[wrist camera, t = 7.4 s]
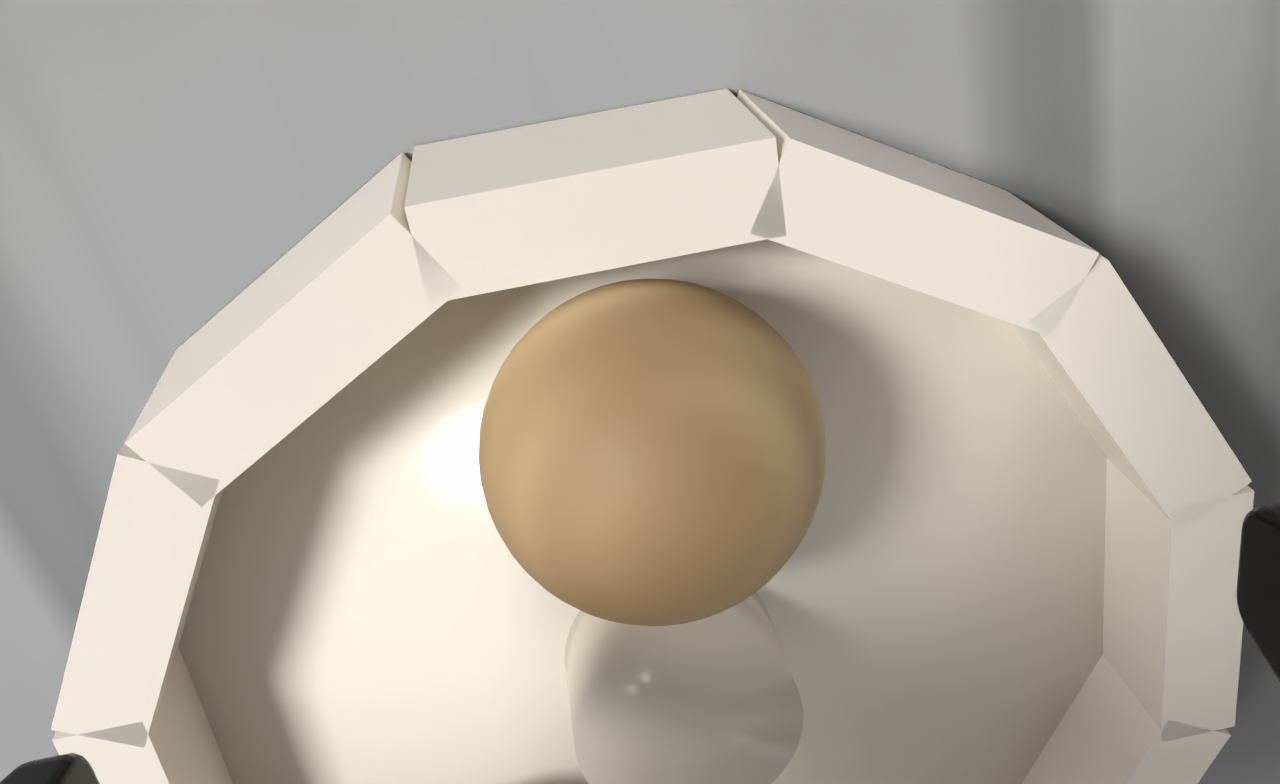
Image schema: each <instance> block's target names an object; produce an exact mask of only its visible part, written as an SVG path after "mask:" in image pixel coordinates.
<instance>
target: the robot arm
mask: <svg viewBox="0 0 1280 784" xmlns="http://www.w3.org/2000/svg"><path fill="white" fill-rule="evenodd" d="M1236 593H1237V604H1238V609H1239V613H1240V616H1241V618H1242V620H1243V623H1244V625H1245V627H1246V628H1247V630H1248V632H1249V633H1250V635H1251V636H1252V638H1253V640H1254V641H1255V643H1256V644H1257V646H1258V648H1259V649H1260V651H1261V652H1262V654H1263V656H1264V657H1265V659H1266V660H1267V662H1268V664H1269V665H1270V667H1271V668H1272V670H1273V672H1274V673H1275V675H1276V676H1277V678H1278V679H1279V681H1280V502H1278V503H1273V504H1269V505H1264V506H1259V507H1255V508H1253V509H1252V510H1251V511H1249V512H1248V513H1247V514H1246V516H1245V518H1244V520H1243V524H1242V530H1241V542H1240V554H1239V567H1238V579H1237V591H1236ZM0 784H100V783H99V781H98V779H97V777H96V775H95V773H94V770H93V768H92V767H91V765H90V764H89V762H88V761H87V760H86V759H85V758H84V757H83V756H81V755H79V754H75V753H68V754H63V755H58V756H54V757H49V758H44V759H39V760H34V761H30V762H27V763H24V764H22V765H20V766H19V767H17V768H16V769H15V770H14V771H12V772H11V773H10V774H9V775H8V776H7V777H6V778H5V779H3V780H2V781H1V782H0Z"/></svg>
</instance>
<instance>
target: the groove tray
mask: <svg viewBox="0 0 1280 784" xmlns="http://www.w3.org/2000/svg"><path fill="white" fill-rule="evenodd" d="M635 279H672V280H678V281H684V282H690V283H694V284H698V285H701V286H704V287H708V288H711V289H713V290H716V291H718V292H720V293H722V294H724V295H727V296H729V297H731V298H733V299H735V300H737V301H739V302H740V303H742V304H743V305H745V306H747V307H748V308H750V309H751V310H753V311H754V312H756V313H757V314H758V315H759V316H761V317H762V318H763V319H764V320H765V321H766V322H767V323H769V324H770V325H771V326H772V327H773V328H774V329H775V330H776V331H777V332H778V333H779V334H780V335H781V336H782V338H783V339H784V340H785V341H786V342H787V343H788V345H789V346H790V347H791V348H792V349H793V351H794V353H795V354H796V356H797V357H798V359H799V361H800V362H801V364H802V365H803V367H804V369H805V371H806V373H807V374H808V376H809V379H810V381H811V383H812V386H813V388H814V390H815V392H816V396H817V399H818V403H819V407H820V411H821V415H822V419H823V423H824V430H825V439H826V457H825V475H824V481H823V487H822V492H821V495H820V498H819V502H818V505H817V508H816V511H815V514H814V517H813V520H812V522H811V524H810V526H809V528H808V530H807V533H806V535H805V536H804V538H803V540H802V541H801V543H800V544H799V546H798V548H797V549H796V551H795V552H794V554H793V555H792V556H791V557H790V558H789V560H788V561H787V562H786V563H785V565H784V566H783V567H782V568H781V570H780V571H779V572H778V573H777V574H776V575H775V576H774V577H773V578H772V579H771V580H770V581H769V582H768V583H767V584H765V585H764V586H763V587H762V588H760V589H759V590H758V591H756V592H755V593H754V594H753V595H751V596H750V597H748V598H746V599H745V600H743V601H742V602H740V603H738V604H737V605H735V606H733V607H731V608H729V609H727V610H725V611H723V612H721V613H718V614H715V615H712V616H710V617H707V618H704V619H701V620H697V621H693V622H689V623H684V624H676V625H669V626H641V625H630V624H622V623H617V622H612V621H608V620H604V619H601V618H598V617H595V616H592V615H589V614H587V613H585V612H583V611H581V610H579V609H577V608H575V607H573V606H571V605H569V604H567V603H565V602H563V601H561V600H560V599H558V598H557V597H555V596H554V595H552V594H551V593H549V592H548V591H547V590H545V589H544V588H543V587H542V586H541V585H540V584H539V583H538V582H536V581H535V580H534V579H533V578H532V577H531V576H530V575H529V574H528V573H527V572H526V571H525V570H524V569H523V568H522V567H521V565H520V564H519V563H518V562H517V561H516V559H515V558H514V557H513V556H512V554H511V553H510V551H509V549H508V548H507V546H506V545H505V543H504V541H503V540H502V538H501V536H500V535H499V533H498V531H497V530H496V527H495V525H494V523H493V520H492V518H491V516H490V513H489V511H488V507H487V503H486V499H485V495H484V492H483V488H482V484H481V479H480V469H479V436H480V426H481V421H482V416H483V411H484V407H485V404H486V401H487V399H488V396H489V393H490V390H491V387H492V384H493V381H494V379H495V377H496V375H497V374H498V372H499V370H500V368H501V366H502V364H503V362H504V361H505V359H506V358H507V356H508V355H509V353H510V352H511V350H512V349H513V348H514V346H515V345H516V344H517V343H518V342H519V340H520V339H521V338H522V337H523V336H524V335H525V334H526V333H527V332H528V330H529V329H530V328H531V327H532V326H534V325H535V324H536V323H537V322H538V321H539V320H540V319H542V318H543V317H544V316H545V315H546V314H547V313H549V312H550V311H552V310H553V309H555V308H556V307H558V306H559V305H561V304H562V303H564V302H565V301H567V300H569V299H571V298H573V297H575V296H577V295H579V294H581V293H583V292H586V291H588V290H591V289H594V288H597V287H600V286H603V285H606V284H611V283H615V282H620V281H624V280H635ZM1251 482H1252V480H1251V479H1250V477H1249V476H1248V474H1247V473H1246V471H1245V470H1244V468H1243V466H1242V465H1241V463H1240V462H1239V460H1238V459H1237V457H1236V456H1235V454H1234V453H1233V451H1232V450H1231V448H1230V446H1229V445H1228V443H1227V442H1226V440H1225V439H1224V437H1223V436H1222V434H1221V433H1220V431H1219V430H1218V428H1217V426H1216V425H1215V423H1214V422H1213V420H1212V419H1211V417H1210V416H1209V414H1208V413H1207V411H1206V409H1205V408H1204V406H1203V405H1202V403H1201V402H1200V400H1199V399H1198V397H1197V396H1196V394H1195V393H1194V391H1193V389H1192V388H1191V386H1190V385H1189V383H1188V382H1187V380H1186V379H1185V377H1184V376H1183V374H1182V373H1181V371H1180V369H1179V368H1178V366H1177V365H1176V363H1175V362H1174V360H1173V359H1172V357H1171V356H1170V354H1169V352H1168V351H1167V349H1166V348H1165V346H1164V345H1163V343H1162V342H1161V340H1160V339H1159V337H1158V336H1157V334H1156V332H1155V331H1154V329H1153V328H1152V326H1151V325H1150V323H1149V322H1148V320H1147V319H1146V317H1145V316H1144V314H1143V312H1142V311H1141V309H1140V308H1139V306H1138V305H1137V303H1136V302H1135V300H1134V299H1133V297H1132V295H1131V294H1130V292H1129V291H1128V289H1127V288H1126V286H1125V285H1124V283H1123V282H1122V280H1121V279H1120V277H1119V275H1118V274H1117V272H1116V271H1115V269H1114V268H1113V266H1112V265H1111V263H1110V262H1109V260H1107V259H1106V258H1104V257H1103V256H1101V255H1100V254H1099V252H1097V251H1096V250H1094V249H1093V248H1091V247H1090V246H1088V245H1087V244H1085V243H1084V242H1082V241H1081V240H1079V239H1078V238H1076V237H1075V236H1073V235H1072V234H1070V233H1069V232H1067V231H1066V230H1064V229H1063V228H1061V227H1060V226H1058V225H1057V224H1055V223H1054V222H1052V221H1051V220H1049V219H1048V218H1047V217H1045V216H1044V215H1042V214H1041V213H1039V212H1038V211H1036V210H1035V209H1033V208H1032V207H1030V206H1029V205H1027V204H1026V203H1024V202H1023V201H1021V200H1020V199H1018V198H1017V197H1015V196H1014V195H1012V194H1011V193H1009V192H1008V191H1006V190H1004V189H1001V188H998V187H996V186H993V185H990V184H988V183H985V182H982V181H980V180H977V179H975V178H972V177H969V176H967V175H964V174H961V173H959V172H956V171H953V170H951V169H948V168H945V167H943V166H940V165H938V164H935V163H932V162H930V161H927V160H924V159H922V158H919V157H916V156H914V155H911V154H909V153H906V152H903V151H901V150H898V149H895V148H893V147H890V146H887V145H885V144H882V143H879V142H877V141H874V140H872V139H869V138H866V137H864V136H861V135H858V134H856V133H853V132H850V131H848V130H845V129H842V128H840V127H837V126H835V125H832V124H829V123H827V122H824V121H821V120H819V119H816V118H813V117H811V116H808V115H805V114H803V113H800V112H798V111H795V110H792V109H790V108H787V107H784V106H782V105H779V104H776V103H774V102H771V101H768V100H766V99H763V98H761V97H758V96H755V95H753V94H750V93H747V92H745V91H742V90H739V92H738V95H737V97H735V96H734V95H733V94H732V93H731V92H730V91H729V90H728V89H722V90H716V91H711V92H705V93H700V94H695V95H689V96H684V97H678V98H673V99H668V100H662V101H657V102H651V103H646V104H641V105H635V106H630V107H624V108H619V109H614V110H608V111H603V112H597V113H592V114H587V115H581V116H576V117H570V118H565V119H559V120H554V121H549V122H543V123H538V124H532V125H527V126H522V127H516V128H511V129H505V130H500V131H495V132H489V133H484V134H478V135H473V136H468V137H462V138H457V139H451V140H446V141H441V142H435V143H430V144H424V145H419V146H414V150H413V156H412V162H411V161H410V160H409V159H408V157H407V156H406V155H405V154H404V153H403V152H402V153H401V154H400V155H398V156H397V157H396V158H395V159H394V160H393V161H392V162H390V163H389V164H388V165H387V166H386V167H385V168H384V169H382V170H381V171H380V172H379V173H378V174H377V175H376V176H374V177H373V178H372V179H371V180H370V181H369V182H368V183H366V184H365V185H364V186H363V187H362V188H361V189H360V190H358V191H357V192H356V193H355V194H354V195H353V196H352V197H350V198H349V199H348V200H347V201H346V202H345V203H344V204H342V205H341V206H340V207H339V208H338V209H337V210H336V211H334V212H333V213H332V214H331V215H330V216H329V217H328V218H326V219H325V220H324V221H323V222H322V223H321V224H320V225H318V226H317V227H316V228H315V229H314V230H313V231H312V232H310V233H309V234H308V235H307V236H306V237H305V238H304V239H302V240H301V241H300V242H299V243H298V244H297V245H296V246H294V247H293V248H292V249H291V250H290V251H289V252H288V253H286V254H285V255H284V256H283V257H282V258H281V259H280V260H278V261H277V262H276V263H275V264H274V265H273V266H272V267H270V268H269V269H268V270H267V271H266V272H265V273H264V274H262V275H261V276H260V277H259V278H258V279H257V280H256V281H254V282H253V283H252V284H251V285H250V286H249V287H248V288H246V289H245V290H244V291H243V292H242V293H241V294H240V295H238V296H237V297H236V298H235V299H234V300H233V301H232V302H230V303H229V304H228V305H227V306H226V307H225V308H224V309H222V310H221V311H220V312H219V313H218V314H217V315H216V316H214V317H213V318H212V319H211V320H210V321H209V322H208V323H206V324H205V325H204V326H203V327H202V328H201V329H200V330H198V331H197V332H196V333H195V334H194V335H193V336H192V337H190V338H189V339H188V340H187V341H186V342H185V343H184V344H182V345H181V346H180V347H179V348H178V349H177V350H176V351H175V353H174V355H173V357H172V359H170V361H169V363H168V365H167V366H166V368H165V370H164V372H163V374H162V375H161V377H160V379H159V381H158V383H157V384H156V386H155V388H154V390H153V392H152V393H151V395H150V397H149V399H148V401H147V402H146V404H145V406H144V408H143V410H142V411H141V413H140V415H139V417H138V419H137V420H136V422H135V424H134V426H133V428H132V429H131V431H130V433H129V435H128V437H127V438H126V440H125V442H124V444H123V446H122V447H121V449H120V451H119V453H118V455H117V459H116V463H115V467H114V471H113V476H112V480H111V484H110V488H109V492H108V496H107V500H106V505H105V509H104V513H103V517H102V521H101V525H100V529H99V533H98V538H97V542H96V546H95V550H94V554H93V558H92V562H91V567H90V571H89V575H88V579H87V583H86V587H85V591H84V595H83V600H82V604H81V608H80V612H79V616H78V620H77V624H76V629H75V633H74V637H73V641H72V645H71V649H70V653H69V658H68V662H67V666H66V670H65V674H64V678H63V682H62V686H61V691H60V695H59V699H58V703H57V707H56V711H55V715H54V720H53V724H52V728H51V730H55V731H56V733H55V735H54V737H53V740H52V741H53V743H54V745H55V747H56V749H57V751H58V753H59V755H63V754H68V753H75V754H79V755H81V756H83V757H84V758H85V759H86V760H87V761H88V762H89V764H90V765H91V767H92V768H93V770H94V773H95V775H96V777H97V779H98V781H99V783H100V784H1198V782H1199V781H1200V779H1201V778H1202V776H1203V775H1204V774H1205V772H1206V771H1207V769H1208V768H1209V766H1210V765H1211V763H1212V762H1213V761H1214V759H1215V758H1216V756H1217V755H1218V753H1219V752H1220V751H1221V749H1222V748H1223V746H1224V745H1225V743H1226V742H1227V741H1228V739H1229V738H1230V736H1231V734H1230V733H1229V732H1228V731H1227V730H1226V728H1229V727H1234V726H1235V717H1236V705H1237V693H1238V681H1239V669H1240V657H1241V645H1242V633H1243V620H1242V618H1241V616H1240V613H1239V609H1238V604H1237V593H1236V591H1237V579H1238V567H1239V554H1240V542H1241V530H1242V524H1243V520H1244V518H1245V516H1246V514H1247V513H1248V512H1249V511H1251V510H1252V509H1253V502H1254V490H1253V489H1251V488H1250V487H1249V486H1248V484H1249V483H1251Z"/></svg>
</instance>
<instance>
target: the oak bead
mask: <svg viewBox="0 0 1280 784" xmlns="http://www.w3.org/2000/svg"><path fill="white" fill-rule="evenodd" d="M825 457H826V439H825V430H824V423H823V419H822V415H821V411H820V407H819V403H818V399H817V396H816V392H815V390H814V388H813V386H812V383H811V381H810V379H809V376H808V374H807V373H806V371H805V369H804V367H803V365H802V364H801V362H800V361H799V359H798V357H797V356H796V354H795V353H794V351H793V349H792V348H791V347H790V346H789V345H788V343H787V342H786V341H785V340H784V339H783V338H782V336H781V335H780V334H779V333H778V332H777V331H776V330H775V329H774V328H773V327H772V326H771V325H770V324H769V323H767V322H766V321H765V320H764V319H763V318H762V317H761V316H759V315H758V314H757V313H756V312H754V311H753V310H751V309H750V308H748V307H747V306H745V305H743V304H742V303H740V302H739V301H737V300H735V299H733V298H731V297H729V296H727V295H724V294H722V293H720V292H718V291H716V290H713V289H711V288H708V287H704V286H701V285H698V284H694V283H690V282H684V281H678V280H672V279H635V280H624V281H620V282H615V283H611V284H606V285H603V286H600V287H597V288H594V289H591V290H588V291H586V292H583V293H581V294H579V295H577V296H575V297H573V298H571V299H569V300H567V301H565V302H564V303H562V304H561V305H559V306H558V307H556V308H555V309H553V310H552V311H550V312H549V313H547V314H546V315H545V316H544V317H543V318H542V319H540V320H539V321H538V322H537V323H536V324H535V325H534V326H532V327H531V328H530V329H529V330H528V332H527V333H526V334H525V335H524V336H523V337H522V338H521V339H520V340H519V342H518V343H517V344H516V345H515V346H514V348H513V349H512V350H511V352H510V353H509V355H508V356H507V358H506V359H505V361H504V362H503V364H502V366H501V368H500V370H499V372H498V374H497V375H496V377H495V379H494V381H493V384H492V387H491V390H490V393H489V396H488V399H487V401H486V404H485V407H484V411H483V416H482V421H481V426H480V436H479V469H480V479H481V484H482V488H483V492H484V495H485V499H486V503H487V507H488V511H489V513H490V516H491V518H492V520H493V523H494V525H495V527H496V530H497V531H498V533H499V535H500V536H501V538H502V540H503V541H504V543H505V545H506V546H507V548H508V549H509V551H510V553H511V554H512V556H513V557H514V558H515V559H516V561H517V562H518V563H519V564H520V565H521V567H522V568H523V569H524V570H525V571H526V572H527V573H528V574H529V575H530V576H531V577H532V578H533V579H534V580H535V581H536V582H538V583H539V584H540V585H541V586H542V587H543V588H544V589H545V590H547V591H548V592H549V593H551V594H552V595H554V596H555V597H557V598H558V599H560V600H561V601H563V602H565V603H567V604H569V605H571V606H573V607H575V608H577V609H579V610H581V611H583V612H585V613H587V614H589V615H592V616H595V617H598V618H601V619H604V620H608V621H612V622H617V623H622V624H630V625H641V626H669V625H676V624H684V623H689V622H693V621H697V620H701V619H704V618H707V617H710V616H712V615H715V614H718V613H721V612H723V611H725V610H727V609H729V608H731V607H733V606H735V605H737V604H738V603H740V602H742V601H743V600H745V599H746V598H748V597H750V596H751V595H753V594H754V593H755V592H756V591H758V590H759V589H760V588H762V587H763V586H764V585H765V584H767V583H768V582H769V581H770V580H771V579H772V578H773V577H774V576H775V575H776V574H777V573H778V572H779V571H780V570H781V568H782V567H783V566H784V565H785V563H786V562H787V561H788V560H789V558H790V557H791V556H792V555H793V554H794V552H795V551H796V549H797V548H798V546H799V544H800V543H801V541H802V540H803V538H804V536H805V535H806V533H807V530H808V528H809V526H810V524H811V522H812V520H813V517H814V514H815V511H816V508H817V505H818V502H819V498H820V495H821V492H822V487H823V481H824V475H825Z"/></svg>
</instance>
